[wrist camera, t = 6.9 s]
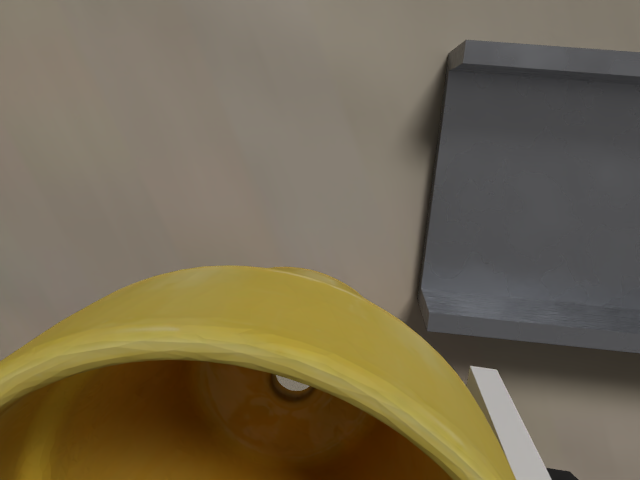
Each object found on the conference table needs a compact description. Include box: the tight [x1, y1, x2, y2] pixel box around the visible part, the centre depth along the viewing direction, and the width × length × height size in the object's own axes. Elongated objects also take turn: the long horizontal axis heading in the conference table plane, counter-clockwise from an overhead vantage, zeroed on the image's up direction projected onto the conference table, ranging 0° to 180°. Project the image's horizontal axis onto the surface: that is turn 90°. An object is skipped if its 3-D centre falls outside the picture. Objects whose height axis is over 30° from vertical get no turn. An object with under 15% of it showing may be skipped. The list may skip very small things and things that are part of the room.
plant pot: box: [0, 266, 516, 480], centre depth 12 cm, size 10×10×10 cm
